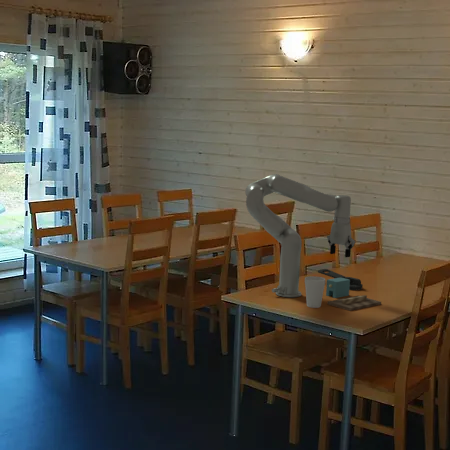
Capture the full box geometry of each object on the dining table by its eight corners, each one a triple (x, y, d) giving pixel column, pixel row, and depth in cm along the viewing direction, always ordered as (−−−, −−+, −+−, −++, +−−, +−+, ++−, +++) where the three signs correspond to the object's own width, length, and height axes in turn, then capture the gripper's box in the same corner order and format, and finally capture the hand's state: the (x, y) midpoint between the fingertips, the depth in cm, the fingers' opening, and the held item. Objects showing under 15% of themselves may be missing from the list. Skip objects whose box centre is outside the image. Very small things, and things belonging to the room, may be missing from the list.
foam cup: (327, 306, 330) (329, 278, 328) (316, 309, 323) (317, 281, 321) (310, 302, 336) (312, 275, 334) (299, 305, 329) (300, 278, 328)
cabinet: (334, 298, 346) (334, 282, 344) (324, 295, 350) (325, 279, 349) (348, 295, 352) (349, 279, 351) (339, 293, 357) (340, 277, 356)
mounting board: (349, 310, 323) (350, 304, 323) (327, 304, 334) (327, 297, 334) (381, 304, 337) (381, 297, 336) (358, 298, 348) (358, 291, 347)
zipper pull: (325, 268, 384) (365, 276, 367) (325, 280, 385) (364, 288, 368) (315, 270, 378) (356, 278, 361) (315, 282, 379) (355, 291, 362)
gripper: (323, 219, 350) (321, 253, 353) (350, 223, 337) (348, 259, 340) (333, 218, 355) (332, 251, 358) (360, 222, 342) (358, 257, 344)
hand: (340, 255), depth 349 cm, fingers open, 9 cm apart
